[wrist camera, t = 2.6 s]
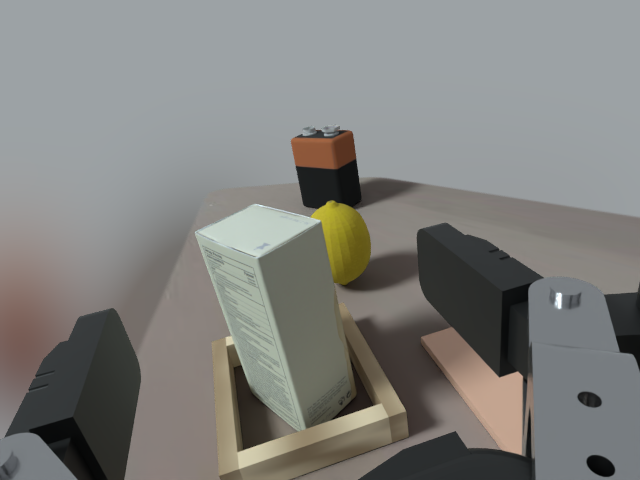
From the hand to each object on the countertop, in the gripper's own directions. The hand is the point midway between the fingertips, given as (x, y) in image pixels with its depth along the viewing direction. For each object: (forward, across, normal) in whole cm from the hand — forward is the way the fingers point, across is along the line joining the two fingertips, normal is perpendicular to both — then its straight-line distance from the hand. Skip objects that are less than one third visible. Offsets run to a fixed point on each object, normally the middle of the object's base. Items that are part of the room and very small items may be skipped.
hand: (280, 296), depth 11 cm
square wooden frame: (+11, 0, +15) cm, 19 cm away
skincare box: (+11, 0, +15) cm, 19 cm away
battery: (+41, -12, +14) cm, 45 cm away
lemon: (+22, -7, +15) cm, 28 cm away
